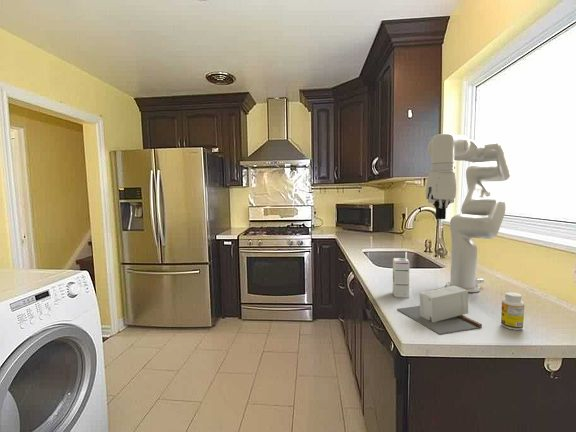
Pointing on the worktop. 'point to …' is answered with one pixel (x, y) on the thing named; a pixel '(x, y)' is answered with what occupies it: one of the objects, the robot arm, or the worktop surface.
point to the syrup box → (401, 277)
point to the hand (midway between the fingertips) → (440, 218)
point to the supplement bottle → (512, 311)
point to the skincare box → (443, 303)
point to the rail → (470, 321)
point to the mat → (438, 322)
